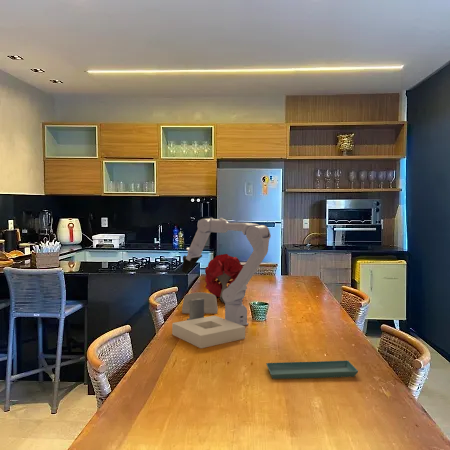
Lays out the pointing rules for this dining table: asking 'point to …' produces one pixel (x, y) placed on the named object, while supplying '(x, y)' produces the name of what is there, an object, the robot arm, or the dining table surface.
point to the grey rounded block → (209, 302)
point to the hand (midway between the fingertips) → (187, 269)
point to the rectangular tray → (311, 369)
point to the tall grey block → (196, 308)
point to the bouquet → (221, 273)
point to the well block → (208, 331)
